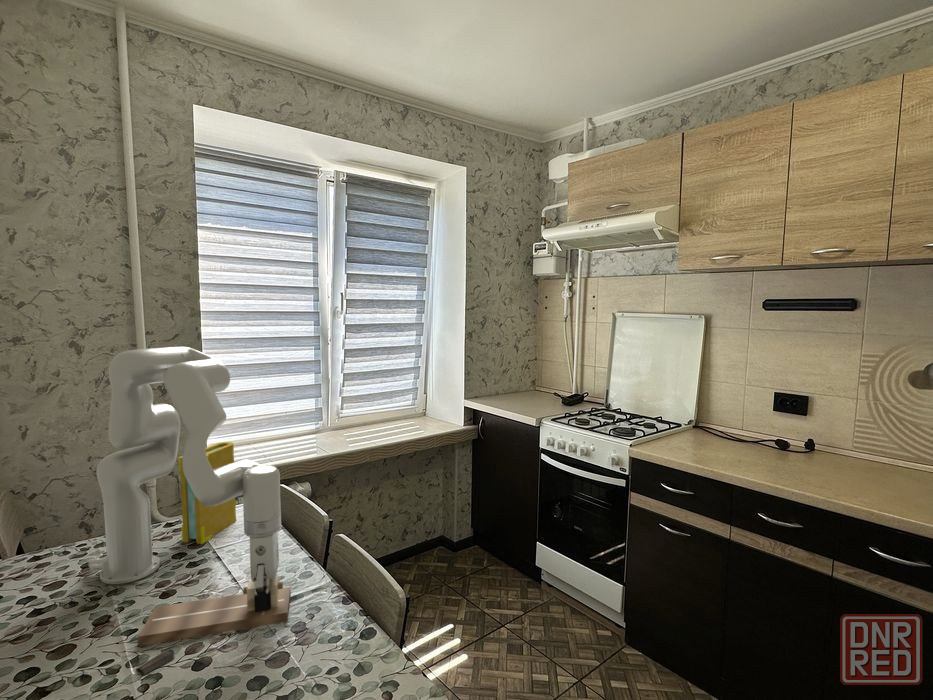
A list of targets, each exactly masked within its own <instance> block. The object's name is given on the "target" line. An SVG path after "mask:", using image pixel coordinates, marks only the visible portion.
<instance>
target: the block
mask: <svg viewBox="0 0 933 700" xmlns="http://www.w3.org/2000/svg"><path fill="white" fill-rule="evenodd" d="M175 653H176V652H175V650H173V649H170V648H169V649H166V650H164V651H163V652H161V653H159V654H157V655H156V656H154V657H153V658H151V659H150V660H147V661H146V662H144V663H143V664H142V665H140V666H137V667H136V668H135V670H136V671H137V672H138V673H140V674H141V675H142V676H146V675H148V674H150V673H151V672H153V671H156V670H157V669H159V668H161V667H162V666H163V667H164V665H166V664H168V663H170V662H172V661H174V660H175V656H176V655H175Z"/></svg>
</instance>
